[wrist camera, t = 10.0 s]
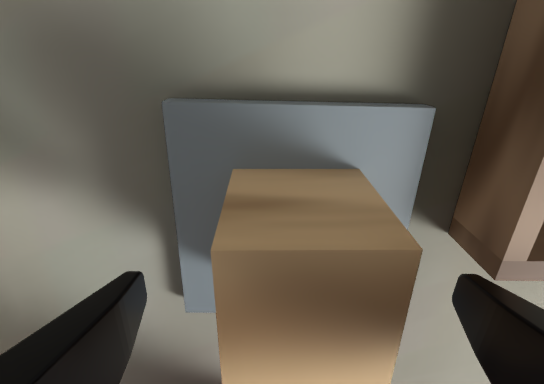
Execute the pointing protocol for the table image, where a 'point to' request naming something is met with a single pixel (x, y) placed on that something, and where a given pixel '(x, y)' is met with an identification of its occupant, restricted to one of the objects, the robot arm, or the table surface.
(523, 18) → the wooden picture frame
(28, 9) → the table surface
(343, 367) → the beech block
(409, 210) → the slate pad
